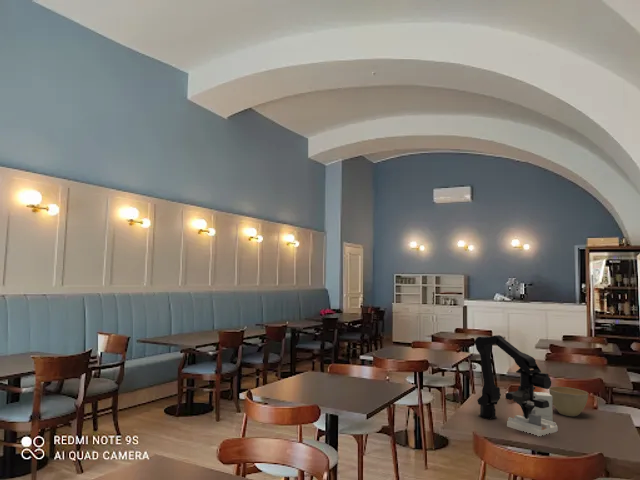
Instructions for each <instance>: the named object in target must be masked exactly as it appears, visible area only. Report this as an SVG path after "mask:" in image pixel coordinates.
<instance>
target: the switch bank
mask: <svg viewBox="0 0 640 480" xmlns="http://www.w3.org/2000/svg"><path fill="white" fill-rule="evenodd" d="M507 418H508V419H507V421H506V427H508V428H511V429H514V430H518V431H520V432H523V431H524V432H523V433H526V432H527V434H529V433H531V434H530V435H532V434H534V435H533V436H535V435H537V436H536V437H539V436H540V437H543V436H547V435H549V433H550V434H553V433H557V432H558V428H559V427H558V425H557V422H555V421H552V422H551V421H548V420H544V419H541V426H538V425H534V424H531V423H529V418H528V419H525V417H524V414H522V415H520V414H517V415H514V417H510V416H509V417H507ZM546 434H547V435H546ZM542 435H543V436H542Z"/></svg>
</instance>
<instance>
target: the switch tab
mask: <svg viewBox="0 0 640 480" xmlns="http://www.w3.org/2000/svg"><path fill="white" fill-rule="evenodd" d="M529 423H531V424H534V425H538V426H541V416H540V415H536V414H529Z"/></svg>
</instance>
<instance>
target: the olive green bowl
mask: <svg viewBox="0 0 640 480" xmlns="http://www.w3.org/2000/svg"><path fill="white" fill-rule="evenodd" d="M548 393H549V394H550V395H551V396H552V405H553V406H554V408H555V409H556V411H557V412H558V413H559V414H560V415H563V416H567V417H577V416H579V415H580V414H581V413H582V412H583V411H584V409H585V407H586V405H587V402H588V400H589V399H588V398H589V392H588V391H586V390H582V389H578V388H572V387H567V386H550V388H549V389H548Z"/></svg>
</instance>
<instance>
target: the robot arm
mask: <svg viewBox="0 0 640 480" xmlns="http://www.w3.org/2000/svg"><path fill="white" fill-rule="evenodd" d="M474 344H475V348H476V351H477V352H478V354H479V355H480V362H481V372H482V380H483V387H482V389H481V395H480V397H479V398H478V399H477V404H478V405H479V406H480V411H479V412H480V414H478V417H480V418H483V419H487V420H492V419H496V418H497V415H496V412H497V411H496V405H498V402H499V401H500V399H501V395H502V394H501V388H500V386H497V385H496V384H495V379H494V377H495V376H494V372H493V371H494V369H493V364H492V357H491V354H492V351H493V345H495V346H497V347H498V348H499V349H501V350H502V351H503V352H504V353H506V354H507V355H508V356H510V357H511V358H512V359H513V360H514V362H515V364H516V366H517V367H518V370H516V371H515V373H516V374H520V375H519V376H520V379H519V381H520V383H519V385H518V387H517V390H516V391H509V392H506V394H505V399H506V400H509V401H513V402H515V403H516V404H518V405H519V406H520V407H521V410H522V413H523V414H524V416H525V419H528V418H529V414H531V412H532V410H533V408H534V407H538V408H547V407H549V402H548V401H547V400H543V399H537V400H534V398H535V396H534V392H535V390H536V388H541V389H545V390H549V388H550V387H552V380H551V377H550V376H549V373H547V372H542V371H541V369H540V368H539V366H538V363H537V360H536V358H534V357H533V356H531V355H529V354H527V353H524V352H522V351H520V350H519V349H518V348H517V347H515V346H514V345H512V343H510V342H508V341H507V340H506V339H505V338H504V337H503V336H502V335H500V334H499V335H492V336H485V335H484V336H477V337H476V338H475V339H474ZM523 414H522V415H523Z"/></svg>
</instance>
